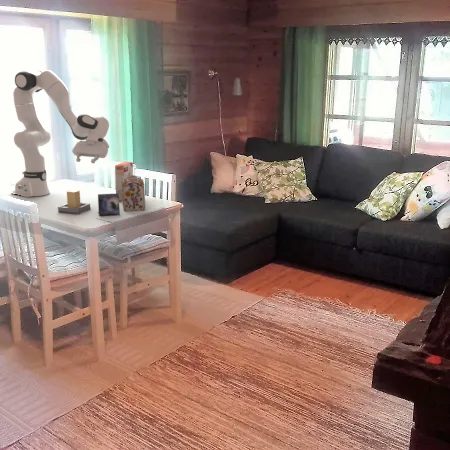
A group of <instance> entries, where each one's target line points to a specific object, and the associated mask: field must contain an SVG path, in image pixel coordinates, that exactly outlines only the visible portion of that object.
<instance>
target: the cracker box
mask: <svg viewBox="0 0 450 450" xmlns="http://www.w3.org/2000/svg"><path fill="white" fill-rule="evenodd" d="M114 173H115V175H114V176H115V177H114V178H115V194H117V193H118V195H119V202H122V180H123V179H126V178H128V176H131V175H134V162H132V161H123V162H120V163H117V164H116V165H114Z"/></svg>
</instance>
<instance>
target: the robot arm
mask: <svg viewBox="0 0 450 450" xmlns="http://www.w3.org/2000/svg"><path fill="white" fill-rule="evenodd" d="M14 85H16V86H15V87H14V88H13V90H12V93H13V94H12V95H13V103H14V104H13V105H14V108H15V113H16V116H17V119H18V121H19V122H21V124H23V126H24V128H25V129H21V130H20V131H18V132H16V133H15V134H14V136H13V142H14V145H15V146H16V147H17V148H19V150H20V151H21V153H22V156H23V159H24V165H25V170H24V171H23V172H22V171H21V173H22V175H23V177H22V178H20V180H18V181H17V182H16V183H15V188H14V190H13V191H12V192H13V193H15V194H18V195H17V196H19V195H21V196H20V197H24V198H25V197H26V198H31V197H41V196H46V195H49V194H50V193H51V192H50V190H49V189H50V188H49V186H48V182H47V170H46V163H45V157H44V155H42V154H41V153H40V150H39V147H43V146H45V145H47V144H48V143H49V142H50V141H51V133H50V131H49V130H48V129H47V128H46V127H45V126H44V125H43V124H42V122H41V120H40V118H39V115H38V111H37V107H36V103H35V99H34V94H35V93H38V92H40V91H44V92H45V94H46V95H47V96H48V97H49V98H50V100H51V101H52V102H53V103H54V105H55V107H56V108H57V110H58V111H59V113H60V115H61V116H62V118H63V119H64V120H65V122H66V123H67V125H68V126H69V128H70V130H71V133H72V135H73V137H74V138H75V139H77V140H79V141H77V142H76V144H75V145H74V147H73V148H72V150H71V151H72V153H73V155H74V156H75V157H76V159H75V160H76V163H77V162H78V163H80V162H81V157H88V158H91V160H90V162H91V164H95V163H96V162H97V161H98V160H99V159H105V158H106V157H107V155H108V153H109V148H110V145H109V144H108V141H106V139H105V137H106V136H107V134H108V132H109V128H110V123H109V120H108V119H107V118H105V117H104V116H101V115H100V116H99V115H98V116H95V115H94V116H93V115H89V114H87V113H81V114H79V115H78V116H77V115H76V114H75V113H74V111H73V110H72V107H71V104H70V91H69V89H68V87H67V86H66V85H65V83H64V82H63V81H62V79H61V78H60V77H58V75H57V74H56V73H54V71H52V70H50V69H44V70H42V71H40V70H33V69H32V70H23V71H20V72H17V73H16V74H15V76H14Z"/></svg>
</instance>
